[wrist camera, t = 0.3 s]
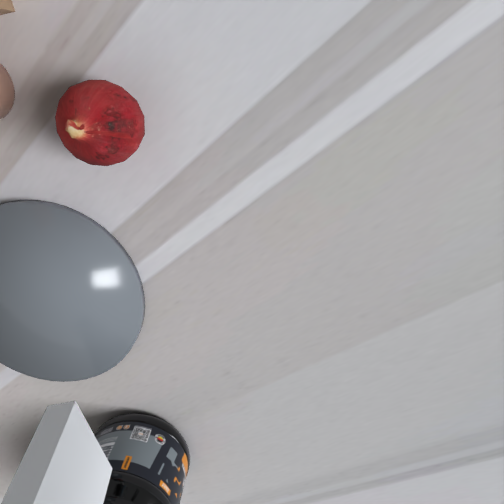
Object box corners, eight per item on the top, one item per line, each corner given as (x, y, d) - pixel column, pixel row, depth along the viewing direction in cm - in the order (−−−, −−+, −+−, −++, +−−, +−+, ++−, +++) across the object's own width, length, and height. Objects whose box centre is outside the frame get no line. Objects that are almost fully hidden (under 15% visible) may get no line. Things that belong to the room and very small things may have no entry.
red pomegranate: (154, 80, 34) (118, 83, 26) (157, 157, 36) (124, 180, 28) (78, 77, 34) (21, 78, 26) (86, 153, 36) (35, 175, 29)
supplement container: (170, 496, 50) (138, 617, 39) (82, 460, 49) (23, 574, 38) (208, 433, 46) (184, 547, 35) (113, 392, 45) (58, 497, 34)
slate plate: (-82, 216, 39) (-90, 220, 38) (113, 184, 37) (108, 187, 36) (-4, 383, 46) (-10, 389, 45) (165, 365, 43) (163, 371, 42)
